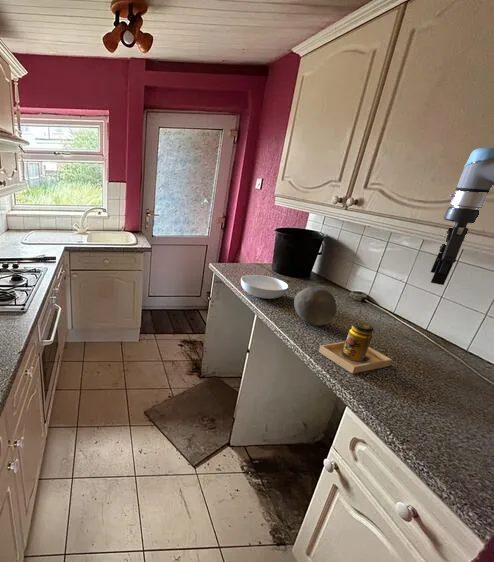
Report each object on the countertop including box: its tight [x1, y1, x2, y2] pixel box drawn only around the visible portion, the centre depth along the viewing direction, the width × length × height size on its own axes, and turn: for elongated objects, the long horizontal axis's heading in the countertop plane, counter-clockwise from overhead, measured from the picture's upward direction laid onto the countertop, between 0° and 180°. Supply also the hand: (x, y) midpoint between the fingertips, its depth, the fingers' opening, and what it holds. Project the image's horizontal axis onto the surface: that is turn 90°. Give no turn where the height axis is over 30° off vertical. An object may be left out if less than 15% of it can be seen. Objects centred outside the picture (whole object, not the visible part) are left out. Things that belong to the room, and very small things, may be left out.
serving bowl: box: [240, 274, 289, 300], centre depth 150 cm, size 21×21×7 cm
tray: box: [318, 340, 393, 374], centre depth 103 cm, size 16×12×2 cm
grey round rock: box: [293, 286, 338, 326], centre depth 123 cm, size 14×14×15 cm
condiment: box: [337, 321, 374, 365], centre depth 102 cm, size 7×8×12 cm
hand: (436, 278), depth 95 cm, fingers open, 13 cm apart
